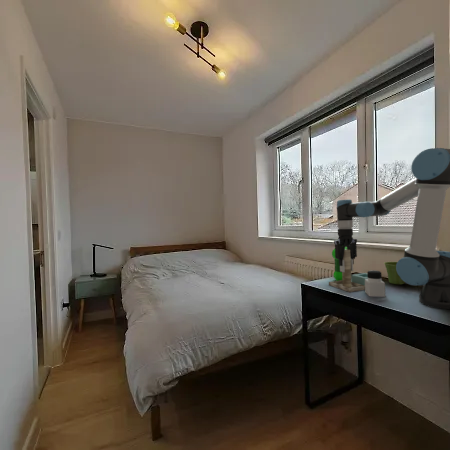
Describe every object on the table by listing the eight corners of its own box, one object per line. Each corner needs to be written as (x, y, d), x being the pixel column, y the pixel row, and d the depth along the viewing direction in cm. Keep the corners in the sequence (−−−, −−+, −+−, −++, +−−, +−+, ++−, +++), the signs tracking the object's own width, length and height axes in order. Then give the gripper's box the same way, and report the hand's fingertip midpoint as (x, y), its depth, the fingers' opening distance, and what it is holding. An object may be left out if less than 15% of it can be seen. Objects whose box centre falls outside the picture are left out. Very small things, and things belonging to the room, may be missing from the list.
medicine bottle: (385, 297, 130) (385, 272, 129) (369, 297, 131) (368, 272, 131) (380, 293, 137) (379, 269, 136) (364, 293, 138) (364, 269, 138)
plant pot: (414, 285, 147) (414, 264, 146) (392, 286, 147) (391, 265, 146) (400, 280, 158) (400, 261, 158) (380, 281, 159) (379, 262, 158)
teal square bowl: (379, 287, 147) (379, 276, 146) (365, 289, 144) (365, 278, 144) (365, 283, 156) (365, 272, 156) (351, 285, 153) (351, 274, 153)
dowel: (353, 286, 147) (352, 249, 146) (346, 287, 146) (345, 250, 145) (347, 284, 151) (346, 249, 150) (340, 285, 150) (339, 249, 149)
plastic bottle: (332, 283, 160) (330, 240, 159) (334, 278, 169) (333, 238, 168) (350, 284, 155) (349, 240, 154) (352, 280, 164) (351, 238, 163)
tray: (366, 290, 143) (366, 286, 142) (349, 293, 139) (349, 288, 139) (344, 283, 158) (344, 279, 158) (328, 285, 154) (328, 281, 154)
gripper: (353, 227, 154) (354, 268, 154) (326, 229, 148) (328, 271, 149) (363, 227, 146) (365, 270, 147) (336, 229, 141) (337, 274, 142)
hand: (346, 270), depth 148 cm, fingers open, 5 cm apart
